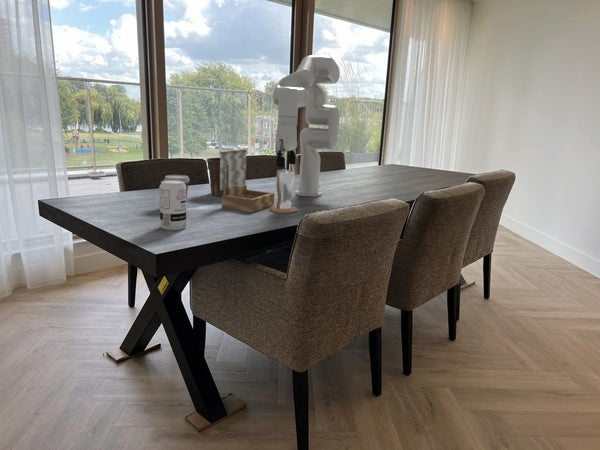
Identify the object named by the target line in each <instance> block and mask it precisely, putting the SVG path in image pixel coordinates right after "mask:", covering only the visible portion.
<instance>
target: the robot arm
mask: <svg viewBox="0 0 600 450" xmlns="http://www.w3.org/2000/svg"><path fill="white" fill-rule="evenodd" d="M340 74H341V71H340V67H339V65H338V64H337V62H336V60H335V59H334V58H333V57H331V56H329V55H306V56H305V57H303V58H302V60H301V61H300V64H299V65H298V67H297V69H296V70H295V72H293V73H290V74H288V75H285V76H283V77H282V78H280V80H278V82H277V84H276V85H275V87H274V89H273V93H272V101H273V103H274V105H276V106H277V126H276V132H275V133H276V134H275V146H274V147H275V155H276V167H277V168H285V163H286V162H285V161H286V158H285V157H286V156H285V155H286V152H288V153H287V164H288V165H296V162H297V161H296V158H297V150H298V145H300V164H299V165H300V166H299V178H298V179H299V181H298V183H299V184H298V190H295V195H297V196H301V197H310V198H312V197H313V198H315V197H321V196H322V195H323V194H322V192H321V191H319V190H320V189H321V185H320V176H321V175H320V173H321V161H322V160H321V159H322V158H321V155H320V154H319V152H318V151H317V150H328V151H331V150H334V149H336V147H337V143H338V135H339V126H340V110H339V107H338V106H336V105H333V104H332V105H330V104H326V99H327V98H326V97H327V95H326V92H325V90H324V88H323V87H322V86H321V84H323V85H324V84H329V85H333V84H336V83H338V82H339V79H340V76H341V75H340ZM304 107H305V115H304V116H305V122H306V123H307V125H310V126H311V125H312V126H318V127H305V128H303V129H302V130H301V131H300V133H299V142H300V143H298V138H297V137H298V136H297V135H298V131H297V130H298V129H297V126H298V122H299V121H298V120H299V119H298V118H299V108H304ZM319 126H320V127H321V126H322V127H327V128H320V127H319Z"/></svg>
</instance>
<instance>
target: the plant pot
mask: <svg viewBox="0 0 600 450" xmlns="http://www.w3.org/2000/svg"><path fill="white" fill-rule="evenodd" d="M206 162H207V163H206V164H207V169H208V172H209V181H210V182H209V183H210V185H209V186H210V194H211V195H212V196H216V197H222V195H223V192H224V190H225V189H224V190H220V157H208V158H206ZM237 187H238V186H237ZM233 188H234V187H233Z"/></svg>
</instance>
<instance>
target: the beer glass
mask: <svg viewBox="0 0 600 450" xmlns="http://www.w3.org/2000/svg"><path fill="white" fill-rule="evenodd" d="M275 179H276V185H275V186H276V194H277V203H276V205H275V206H276V208H277V209H281V210H289V209H291V208H292V207H293V206H292V196H293V195H292V194H293V191H294V183H295V171H294V170H289V169H278V170H277V171H276V178H275ZM291 206H292V207H291Z"/></svg>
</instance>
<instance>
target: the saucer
mask: <svg viewBox="0 0 600 450" xmlns="http://www.w3.org/2000/svg"><path fill="white" fill-rule="evenodd" d="M276 206H277V205H272V206H269V210H270V212H272V213H277V214H294V213H297V212H298V207H296V206H292V205H291V207H292V208H291V209H289V210H281V209H277V208H276Z"/></svg>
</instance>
